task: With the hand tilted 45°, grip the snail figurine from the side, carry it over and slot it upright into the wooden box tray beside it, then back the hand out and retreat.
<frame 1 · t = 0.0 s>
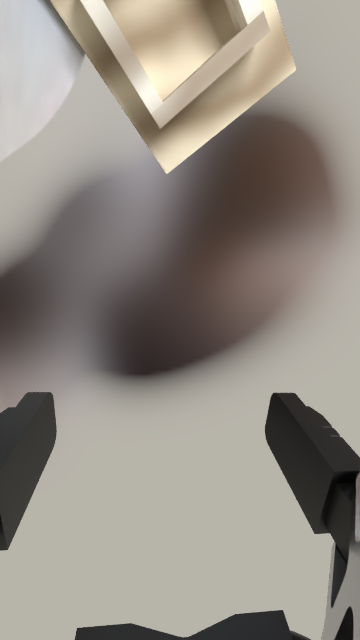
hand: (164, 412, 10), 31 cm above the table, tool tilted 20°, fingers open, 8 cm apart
wooden box tray: (170, 16, 25), on the table
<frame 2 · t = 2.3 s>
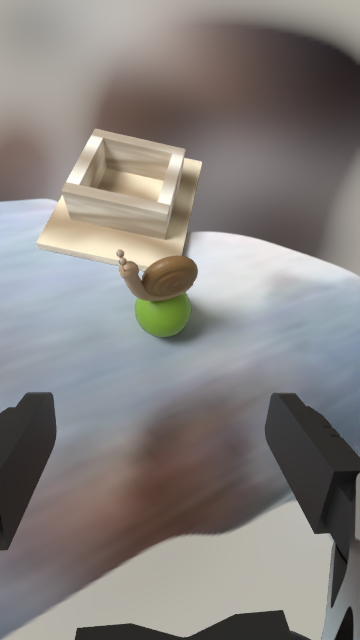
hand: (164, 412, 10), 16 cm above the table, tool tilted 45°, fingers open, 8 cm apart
wooden box tray: (130, 203, 36), on the table
snail figurine: (157, 323, 30), on the table
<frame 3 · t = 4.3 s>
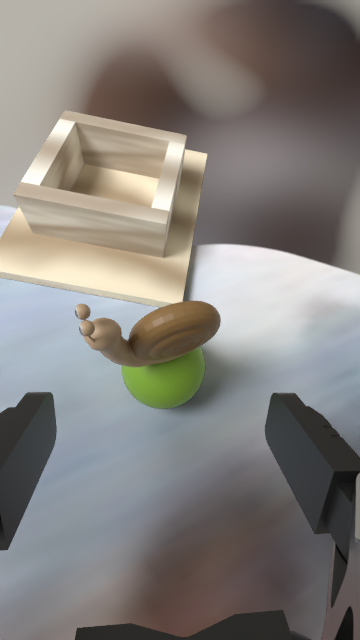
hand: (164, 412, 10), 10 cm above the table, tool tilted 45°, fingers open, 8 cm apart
wooden box tray: (116, 209, 28), on the table
snail figurine: (155, 379, 21), on the table
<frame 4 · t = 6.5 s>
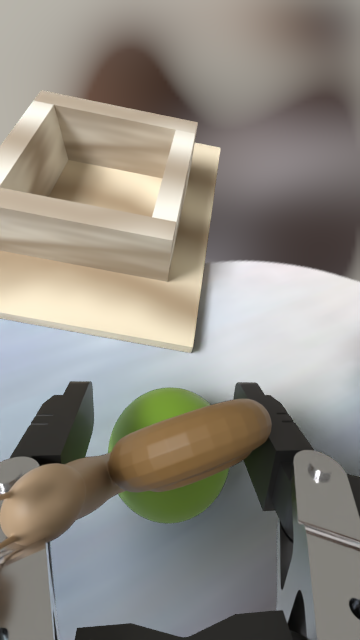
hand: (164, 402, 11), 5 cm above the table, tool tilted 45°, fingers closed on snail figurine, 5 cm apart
wooden box tray: (107, 216, 22), on the table
snail figurine: (157, 453, 15), on the table, touching gripper
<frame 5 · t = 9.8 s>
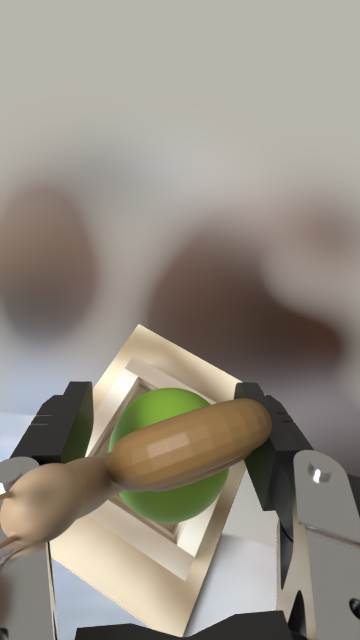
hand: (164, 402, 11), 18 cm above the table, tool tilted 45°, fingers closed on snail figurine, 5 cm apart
wooden box tray: (153, 451, 26), on the table
snail figurine: (158, 453, 15), point 12 cm above the table, touching gripper
when the fingers open (8 cm above the table, at t = 13.2 s): snail figurine drops 1 cm, resting on wooden box tray.
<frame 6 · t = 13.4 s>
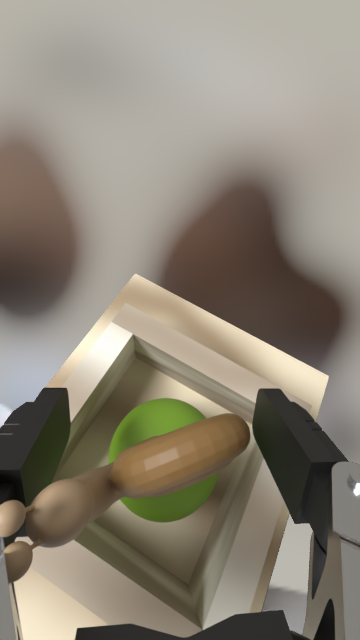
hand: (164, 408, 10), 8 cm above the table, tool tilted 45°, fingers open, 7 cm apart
wooden box tray: (157, 454, 17), on the table
snail figurine: (154, 458, 16), point 1 cm above the table, touching wooden box tray
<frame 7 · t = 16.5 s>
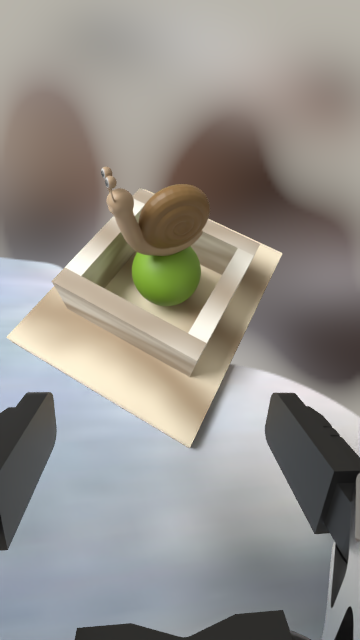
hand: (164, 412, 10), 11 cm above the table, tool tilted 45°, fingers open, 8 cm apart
wooden box tray: (161, 295, 25), on the table
snail figurine: (159, 293, 24), point 1 cm above the table, touching wooden box tray
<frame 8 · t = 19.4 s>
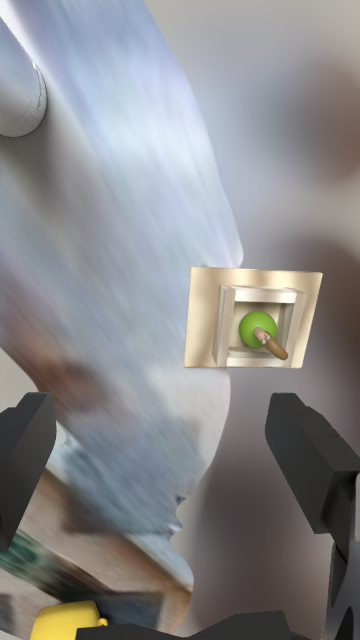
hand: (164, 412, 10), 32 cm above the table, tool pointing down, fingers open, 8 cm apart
teapot: (68, 616, 65), on the table
wooden box tray: (248, 319, 44), on the table
snail figurine: (248, 320, 43), point 1 cm above the table, touching wooden box tray
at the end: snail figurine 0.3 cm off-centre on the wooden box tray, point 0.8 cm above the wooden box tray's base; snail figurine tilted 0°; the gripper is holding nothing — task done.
